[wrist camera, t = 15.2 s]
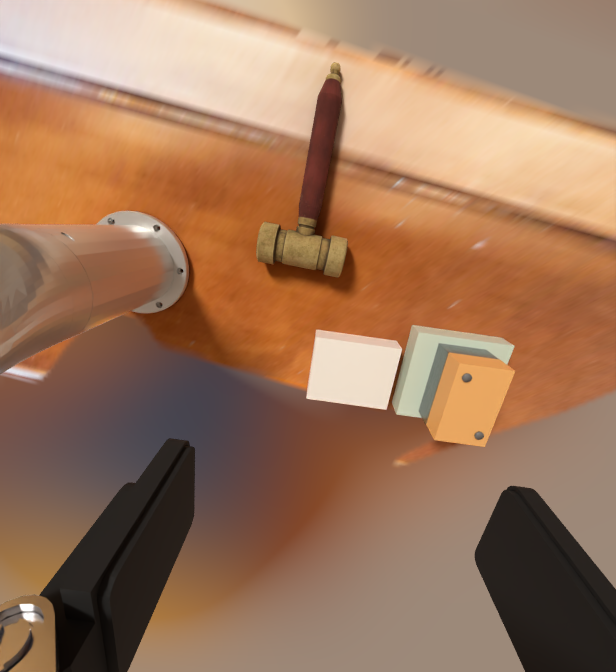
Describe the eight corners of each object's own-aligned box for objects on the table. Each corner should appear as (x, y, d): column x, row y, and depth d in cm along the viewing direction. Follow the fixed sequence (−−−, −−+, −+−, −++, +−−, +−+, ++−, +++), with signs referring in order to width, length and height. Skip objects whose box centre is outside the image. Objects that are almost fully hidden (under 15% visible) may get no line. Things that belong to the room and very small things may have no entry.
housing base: (438, 343, 38) (448, 352, 36) (486, 349, 38) (499, 359, 36) (418, 411, 42) (425, 424, 39) (462, 417, 42) (472, 430, 39)
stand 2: (391, 402, 45) (396, 414, 42) (412, 325, 41) (418, 332, 38) (472, 413, 45) (482, 426, 42) (501, 337, 41) (514, 345, 38)
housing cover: (448, 352, 36) (460, 364, 32) (499, 359, 36) (516, 371, 33) (426, 424, 39) (434, 441, 36) (472, 430, 39) (485, 448, 36)
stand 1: (307, 387, 45) (306, 398, 42) (316, 329, 42) (315, 337, 39) (382, 398, 45) (386, 409, 42) (396, 340, 42) (402, 349, 39)
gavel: (286, 37, 29) (389, 60, 29) (290, 65, 33) (379, 85, 34) (253, 262, 35) (340, 279, 35) (260, 260, 39) (337, 276, 39)
